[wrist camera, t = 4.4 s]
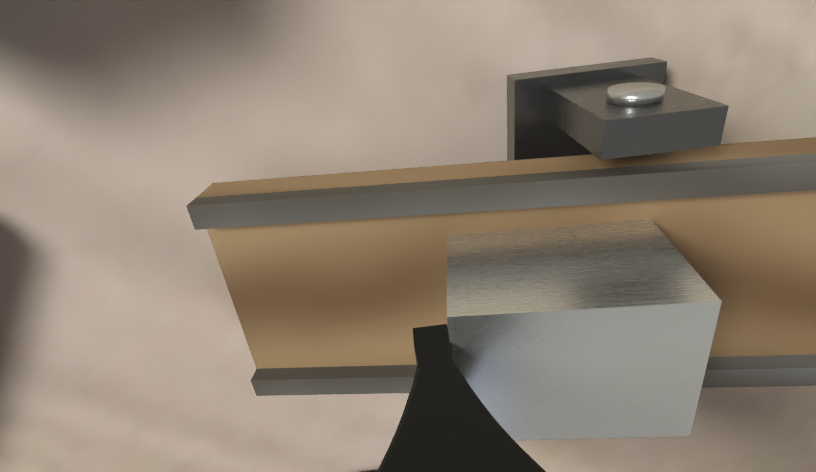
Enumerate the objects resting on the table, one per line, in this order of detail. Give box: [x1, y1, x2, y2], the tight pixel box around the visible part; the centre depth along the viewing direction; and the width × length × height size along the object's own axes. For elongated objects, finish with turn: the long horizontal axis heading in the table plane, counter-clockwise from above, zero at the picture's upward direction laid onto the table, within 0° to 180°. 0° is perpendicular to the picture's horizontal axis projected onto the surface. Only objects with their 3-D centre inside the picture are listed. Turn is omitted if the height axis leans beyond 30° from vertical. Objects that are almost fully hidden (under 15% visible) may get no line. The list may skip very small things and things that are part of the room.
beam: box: [187, 137, 816, 396], centre depth 15 cm, size 8×26×2 cm, turn 96°
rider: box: [447, 219, 722, 440], centre depth 13 cm, size 4×6×4 cm
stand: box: [507, 58, 728, 161], centre depth 16 cm, size 12×5×6 cm, turn 6°
